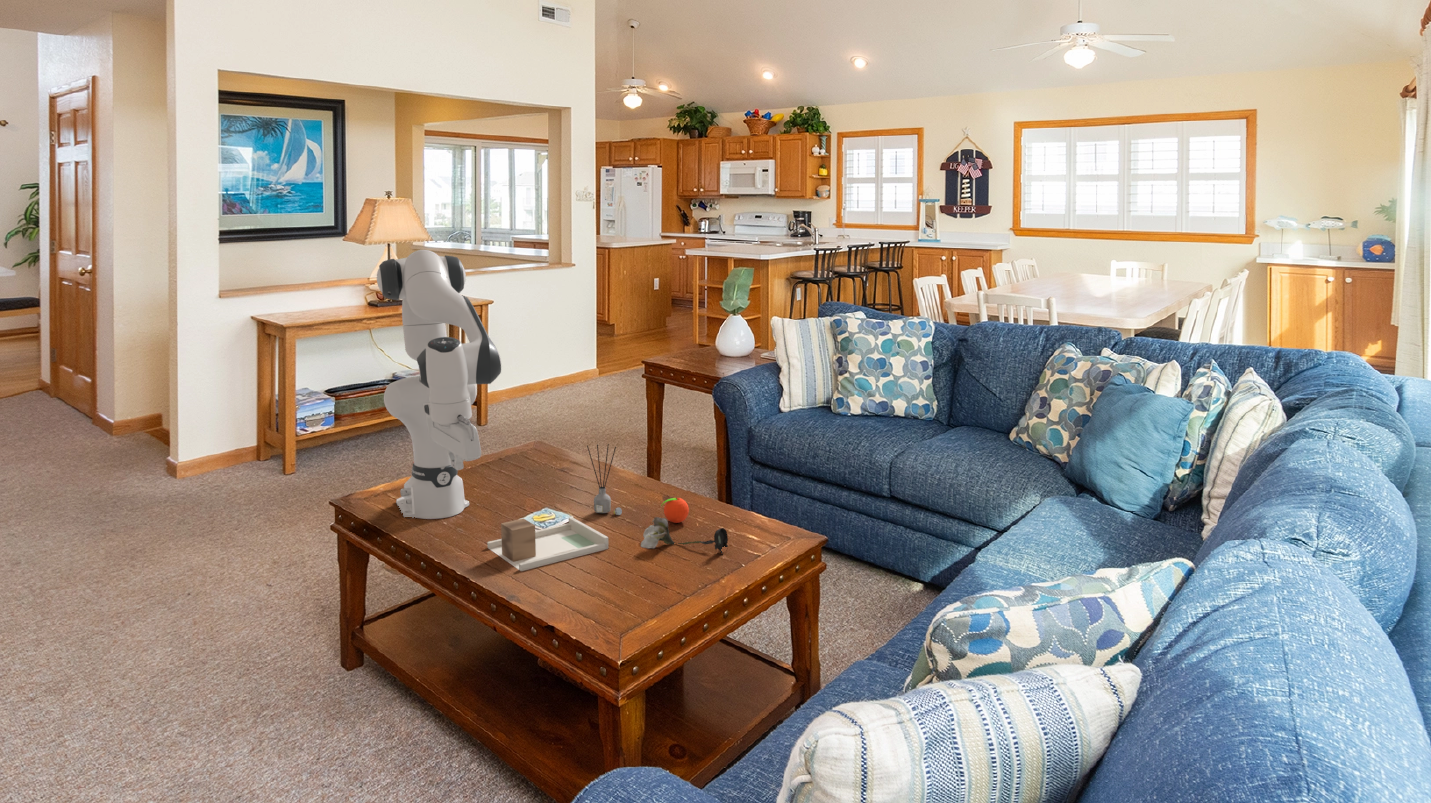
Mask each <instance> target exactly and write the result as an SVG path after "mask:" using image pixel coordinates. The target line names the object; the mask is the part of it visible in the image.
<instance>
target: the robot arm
mask: <svg viewBox="0 0 1431 803" xmlns="http://www.w3.org/2000/svg"><path fill="white" fill-rule="evenodd" d="M378 267H379V268H378V269H377V273H376V283H377V287H378V290H380V292H381V293H382V294H381V295H382V296H383V297H384V298H386V299H388V300H395V301H399V300H402V302H401V317H402V318H401V319H402V320H401V321H402V330H403V338H404V348H405V349H404V350H405V352H406V354H407V355H408V356H409V358H411V359H412V360H414V361H417V365H418V370H419V375H418V376H411V377H408V376H407V377H404V378H400V379H398V380H396V381H393V382H390V383H389V384H387V386H386V389H385V390H384V393H383V403H384V406H385V408H386V410H387V412H388V413H389V414H390V415H391V416H392V417H393V418H395V419H397V420H399V421H400V422H401V423H402V424H403V425H404V426H405V427H406V429H407V431H408V433H409V435H410V439H411V443H412V451H413V462H412V467H411V476H410V477H409V479H407V480H406V482H405V483H404V484H403V488H401V489H399V490H400V497H399V498H396V503H395V504H396V505H397V507H398V506H399V507H398V508H400V509H399V511H400V510H401V511H400V513H401V514H402V513H403V515H402V516H403V518H405V517H412V518H411V519H416V518H417V519H422V520H423V519H425V520H426V519H427V520H435V519H444V518H450V517H453V516H456V515H458V514H460V513H462V512H463V511H464V509H465V508H467V507H469V506H470V501H469V500H467V499H466V498H465V490H464V481H463V479H462V477H460V476H459V475H458V474H459V473H458V472H459V471H460V470H463V469H464V461H465V462H471V461H475V460H478V459H480V458H481V456H482V449H481V444H480V436H479V432H478V429H477V427H476V426H475V425H474V424H472V423H471V420H470V419H471V418H472V417H473V411H472V405H473V404H474V403H475V400H476V398H477V395H478V394H477V393H478V390H477V389H478V386H477V385H491V384H492V383H493V382H494V381H495V380H496V379H497V378H498V377H499V376H500V374H502V358H501V356H500V352H499V351H498V349H497V347H496V345H495V344H494V342H493V341H492V340H491V338H490V335H489V334H488V332H487V330H486V328H485V326H484V324H483V322H482V321H481V318H480V316H479V314H478V312H477V310H476V309H475V307H474V304H473V303H472V302H471V300H470V299H469V298H468V297H467V296H465V295H463V294H461V292H462V291H463V290H464V288H465V284H466V280H467V279H466V278H467V275H466V273H467V272H466V270H465V267H464V265H463V263H462V260H460V258H458V257H457V256H453V255H447V254H446V255H444V256H443V255H438V254H437V253H436V252H434V251H432V250H429V249H418V250H415V251H414V252H411V253H410V254H409V255H408V256H406V257H403V258H398V259H395V258H389V259H387V260H383V261H382V262H381V263H380V264H379V265H378ZM446 324H447V325H452V326H455V327H458V328H460V329H462V330H463V331H464V333H465V335H466V337H467V339H468V341H469V342H467V343H464V342H463V343H462V342H461V341H460V339H458V338H455V337H451V336H450V337H449V336H448V335H447V326H446ZM414 517H415V518H414Z"/></svg>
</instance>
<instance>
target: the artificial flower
mask: <svg viewBox="0 0 1431 803" xmlns="http://www.w3.org/2000/svg"><path fill="white" fill-rule="evenodd" d="M668 521H669V520H668V519H667V518H666V517H665V518H664V517H658V516H655V517H654V518H653V519H652V521H651V524H652V525H649V526H648V527H647V528H645V529H644V532H643V534H642V535H643V540H642V541H641V543H640V547H641V548H644V549H655V548H657V546H658V544H659V541H662V542H664V544H666V545H674V543H676V542H675V541H674V540H673V539H672V537H671V535H670V529H669V522H668ZM713 535H714V536H713V540H712V539H710V540H706V541H704V540H703V541H701V540H694V541H686V542H680V543H678V542H677V543H678V544H683V545H688V544H703V545H711V544H712V545H713V543H714V549H715V551H716V550H717V549H718V551H719V552H720V551H721V549H722V547H724V546H725V547H729V545H728V541H729V538H728V532H727V530H726V529H725V528H724V527H722V528H718V529H717V530H715V533H714V534H713ZM721 553H722V554H723V552H722V551H721ZM721 553H720V554H721Z"/></svg>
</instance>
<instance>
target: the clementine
mask: <svg viewBox="0 0 1431 803" xmlns="http://www.w3.org/2000/svg"><path fill="white" fill-rule="evenodd" d="M663 505H664V507H663V514H664V516H665V519H667V521H669V522H670V523H674V524H677V523H678V524H680V523H681V522H684V521H685V520H686V519H687V518H688V516H689V512H690V508H689V505H688V503H687V501H686V500H684V499H683V498H681V497H671V498H668V499H666V500H664V501H663V502H662V504H661V505H660V508H662V506H663ZM660 508H659V509H660Z"/></svg>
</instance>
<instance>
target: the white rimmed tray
mask: <svg viewBox="0 0 1431 803" xmlns="http://www.w3.org/2000/svg"><path fill="white" fill-rule="evenodd" d="M486 544H487V549H488V550H490V551H491V552H493V553H495V554H496V555H498V556H499V557H500V558H502V559H503V560H504V561H505V562H507V563H509V564H510V565H511V566H513V567H514V568H515V569H517V570H518V571H520V572H524V571H528V570H531V569H535V568H538V567H539V568H540V567H542V566H546V565H551V564H554V563H558V562H561V561H566V560H570V559H573V558H577V557H581V556H585V555H589V554H593V553H598V552H601V551H605V550H608V549H609V536H607V535H605V534H603V533H601V532H600V531H598V530H596V529H594V528H593V527H591V526H589V525H587V524H586V523H584V522H582V521H580V520H579V519H576V518H575V517H573V516H571V517H568V523H564V524H560V525H555V526H550V527H545V528H542V529H538V530H535V544H536V556H535V557H531V558H527V559H523V560H519V561H515V562H513V561H511V560H510V559H508V558H507V557H505V556H504V555H502V538H499V539H495V540H489V541H487V543H486Z"/></svg>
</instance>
